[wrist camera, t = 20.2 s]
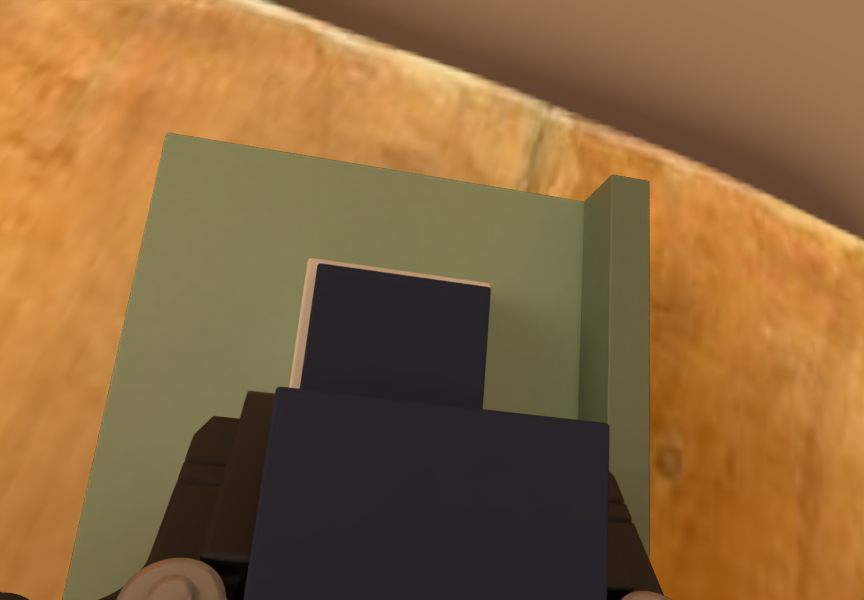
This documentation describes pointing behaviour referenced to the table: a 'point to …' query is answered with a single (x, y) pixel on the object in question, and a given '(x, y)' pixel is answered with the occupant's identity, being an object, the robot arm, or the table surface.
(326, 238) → the green flanged plate
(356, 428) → the high-top shoe
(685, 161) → the table surface
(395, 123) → the table surface
